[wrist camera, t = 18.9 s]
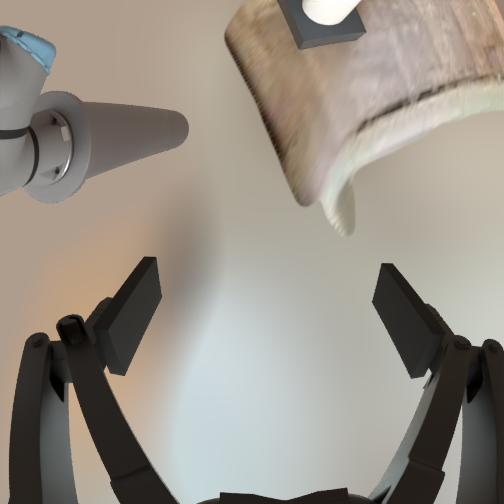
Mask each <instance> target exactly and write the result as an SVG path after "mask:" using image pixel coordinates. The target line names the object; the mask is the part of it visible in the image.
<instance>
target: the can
mask: <svg viewBox="0 0 504 504" xmlns="http://www.w3.org/2000/svg"><path fill="white" fill-rule="evenodd" d="M360 1H361V0H303V2H302V7H303V10H304V12H305V14H306V15H307V16H308V17H309V18H310V19H311V20H313V21H314V22H316V23H319V24H323V25H335V24H338V23H340V22H341V21H342V20H344V18H345V17H346V16H347V15H348V14H349V13H350V12H351V11H352V10H353V9H354V7H355V6H356V5H357V4H358V3H359V2H360Z"/></svg>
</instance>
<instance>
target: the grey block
mask: <svg viewBox="0 0 504 504" xmlns="http://www.w3.org/2000/svg"><path fill="white" fill-rule="evenodd" d="M277 1H278V3H279V5H280V7H281V10H282V12H283V14H284V16H285V18H286V21H287V23H288V25H289V27H290V30H291V32H292V34H293V37H294V39H295V42H296V44H297V47H298V49H299V50H301V49H306V48H311V47H316V46H321V45H327V44H333V43H339V42H346V41H353V40H357V39H358V38H359V37H361V36H362V35H363V34H365V33H366V30H365V28H364V25H363V23H362V21H361V18H360V16H359V14H358V12H357V10H356V8H355V7H354V9H353V10H352V11H351V12H350V13H349V14H348V15H347V16H346V17H345V18H344V20H342V21H341V22H340V23H338V24H335V25H323V24H319V23H316V22H314V21H313V20H311V19H310V18H309V17H308V16H307V15H306V14H305V12H304V10H303V7H302V2H303V0H277Z"/></svg>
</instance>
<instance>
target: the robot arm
mask: <svg viewBox="0 0 504 504" xmlns="http://www.w3.org/2000/svg"><path fill="white" fill-rule="evenodd" d="M55 56H56V48H55V46H54V45H53V44H52V43H51V42H49V41H47V40H45V39H43V38H41V37H39V36H36V35H34V34H31V33H29V32H25V31H22V30H19V29H17V28H13V27H9V26H0V196H3V195H5V194H7V193H9V192H11V191H13V190H16V189H18V188H20V187H23V186H35V187H46V186H50V185H52V184H55V183H57V182H58V181H60V180H61V179H62V178H63V177H64V176H65V174H66V173H67V171H68V170H69V168H70V165H71V162H72V159H73V154H74V136H73V131H72V128H71V126H70V124H69V122H68V120H67V119H66V118H65V116H63V115H62V114H61V113H59V112H57V111H54V110H44V111H40V112H37V113H35V114H33V112H34V109H35V106H36V103H37V100H38V98H39V95H40V92H41V90H42V87H43V85H44V82H45V80H46V77H47V76H48V75H49V74H50V68H51V65H52V63H53V61H54V58H55ZM161 298H162V294H161V288H160V281H159V274H158V267H157V259H156V257H143V259H142V260H141V261H140V263H139V264H138V265H137V266H136V268H135V269H134V270H133V272H132V273H131V274H130V276H129V277H128V278H127V280H126V281H125V282H124V284H123V285H122V286H121V288H120V289H119V290H118V292H117V293H116V294H115V296H114V297H113V298H110V297H107V298H105V299H104V300H102V301H101V302H100V303H99V304H98V305H97V307H96V308H95V310H94V311H93V312H92V314H91V315H90V316H89V318H88V319H87V320H86V322H85V323H84V320H83V318H82V317H81V316H79V315H74V314H72V315H68V316H65V317H63V318H62V319H60V320H59V321H58V323H57V324H56V329H57V331H58V334H59V336H60V338H61V340H60V341H50V339H49V337H48V335H47V334H45V333H35V334H33V335H31V336H30V337H29V338H28V339H27V340H26V342H25V346H24V350H23V355H22V359H21V364H20V368H19V373H18V378H17V384H16V390H15V396H14V403H13V411H12V421H11V431H10V447H9V489H10V498H9V502H8V504H78V500H77V494H76V488H75V482H74V475H73V467H72V459H71V448H70V437H69V411H68V384H69V383H73V385H74V388H75V392H76V395H77V398H78V401H79V404H80V407H81V410H82V413H83V416H84V418H85V421H86V424H87V426H88V429H89V432H90V434H91V436H92V439H93V441H94V444H95V446H96V448H97V451H98V453H99V455H100V457H101V460H102V462H103V464H104V466H105V468H106V470H107V472H108V474H109V476H110V479H111V482H110V484H111V487H112V489H113V491H114V493H115V495H116V497H117V498H118V500H119V502H120V504H180V503H179V502H178V501H177V499H176V498H175V497H174V495H173V494H172V493H171V491H170V490H169V488H168V487H167V486H166V484H165V483H164V481H163V480H162V478H161V477H160V475H159V474H158V472H157V471H156V469H155V468H154V466H153V465H152V463H151V462H150V460H149V458H148V457H147V455H146V453H145V452H144V450H143V448H142V447H141V445H140V443H139V442H138V440H137V438H136V436H135V435H134V433H133V431H132V429H131V427H130V425H129V424H128V422H127V420H126V418H125V416H124V414H123V412H122V410H121V408H120V406H119V404H118V402H117V400H116V398H115V396H114V394H113V392H112V389H111V387H110V385H109V383H108V380H107V378H106V376H105V373H104V369H105V367H106V365H107V367H108V369H109V372H110V373H111V374H117V375H122V376H125V374H126V372H127V370H128V367H129V365H130V363H131V361H132V359H133V356H134V354H135V352H136V350H137V348H138V346H139V344H140V341H141V339H142V337H143V335H144V333H145V331H146V329H147V327H148V325H149V323H150V321H151V319H152V316H153V314H154V312H155V310H156V308H157V306H158V304H159V302H160V300H161ZM372 303H373V305H374V307H375V309H376V310H377V312H378V314H379V316H380V318H381V320H382V322H383V323H384V325H385V327H386V329H387V331H388V333H389V335H390V337H391V339H392V341H393V342H394V345H395V346H396V349H397V350H398V353H399V354H400V357H401V359H402V361H403V363H404V365H405V367H406V368H407V371H408V373H409V375H410V377H411V379H413V378H419V377H424V375H425V374H426V372H427V370H428V368H429V369H430V370H431V372H432V374H431V375H430V377H429V379H428V381H427V383H426V384H425V386H424V387H423V388H424V389H425V390H424V393H423V395H422V398H421V400H420V403H419V405H418V408H417V410H416V412H415V415H414V417H413V419H412V422H411V424H410V426H409V428H408V430H407V433H406V434H405V437H404V439H403V440H402V442H401V444H400V446H399V449H398V450H397V452H396V454H395V456H394V458H393V460H392V462H391V463H390V465H389V467H388V469H387V471H386V472H385V474H384V476H383V477H382V479H381V481H380V482H379V484H378V485H377V487H376V488H375V489H374V491H373V492H372V493H371V494H370V495H369V497H368V498H366V497H363V496H360V495H355V494H348V490H347V488H341V489H333V490H325V491H317V492H314V493H311V494H308V495H304V496H301V497H297V498H294V499H290V500H279V499H273V498H268V497H263V496H259V495H255V494H240V493H224V492H220V498H215V499H210V500H206V501H203V502H200V503H197V504H433V503H434V501H435V499H436V497H437V494H438V492H439V489H440V487H441V485H442V482H443V480H444V476H445V472H443V471H442V467H443V464H444V461H445V458H446V456H447V453H448V450H449V447H450V444H451V441H452V438H453V434H454V431H455V427H456V424H457V420H458V417H459V413H460V409H461V405H462V412H463V429H462V431H463V432H462V454H461V467H460V477H459V485H458V492H457V499H456V504H504V350H503V347H502V346H501V344H500V343H499V342H497V341H496V340H493V339H487V340H485V341H484V343H483V345H482V346H481V347H477V346H472V345H471V343H470V341H469V340H467V339H466V338H465V337H463V336H460V335H454V333H453V332H452V331H451V329H450V328H449V327H448V325H447V324H446V323H445V321H443V318H442V317H441V316H440V314H439V313H438V312H437V311H436V309H435V308H433V307H432V306H431V305H429V304H425V303H424V302H423V301H422V299H421V298H420V297H419V296H418V294H417V293H416V292H415V291H414V289H413V288H412V287H411V285H410V284H409V283H408V282H407V280H406V279H405V278H404V277H403V275H402V274H401V273H400V272H399V271H398V270H397V268H396V267H395V266H394V265H393V264H392V263H382V264H381V268H380V273H379V277H378V281H377V285H376V289H375V293H374V297H373V301H372Z"/></svg>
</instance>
